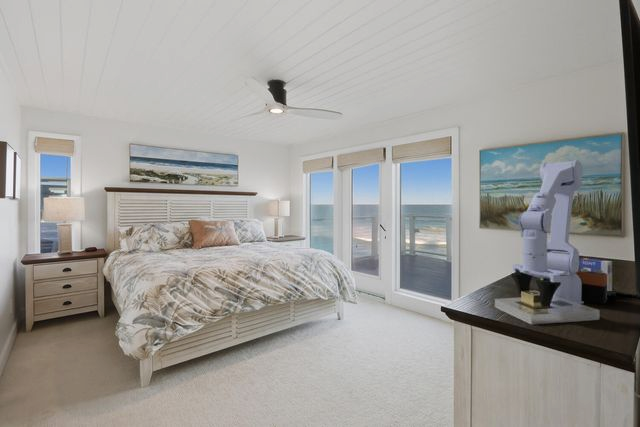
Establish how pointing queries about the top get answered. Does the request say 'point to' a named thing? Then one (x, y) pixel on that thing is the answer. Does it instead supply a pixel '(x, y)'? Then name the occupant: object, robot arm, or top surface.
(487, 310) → the top surface
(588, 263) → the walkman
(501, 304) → the rail plate
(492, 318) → the top surface
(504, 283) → the top surface
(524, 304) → the tan rectangular block
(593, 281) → the battery
